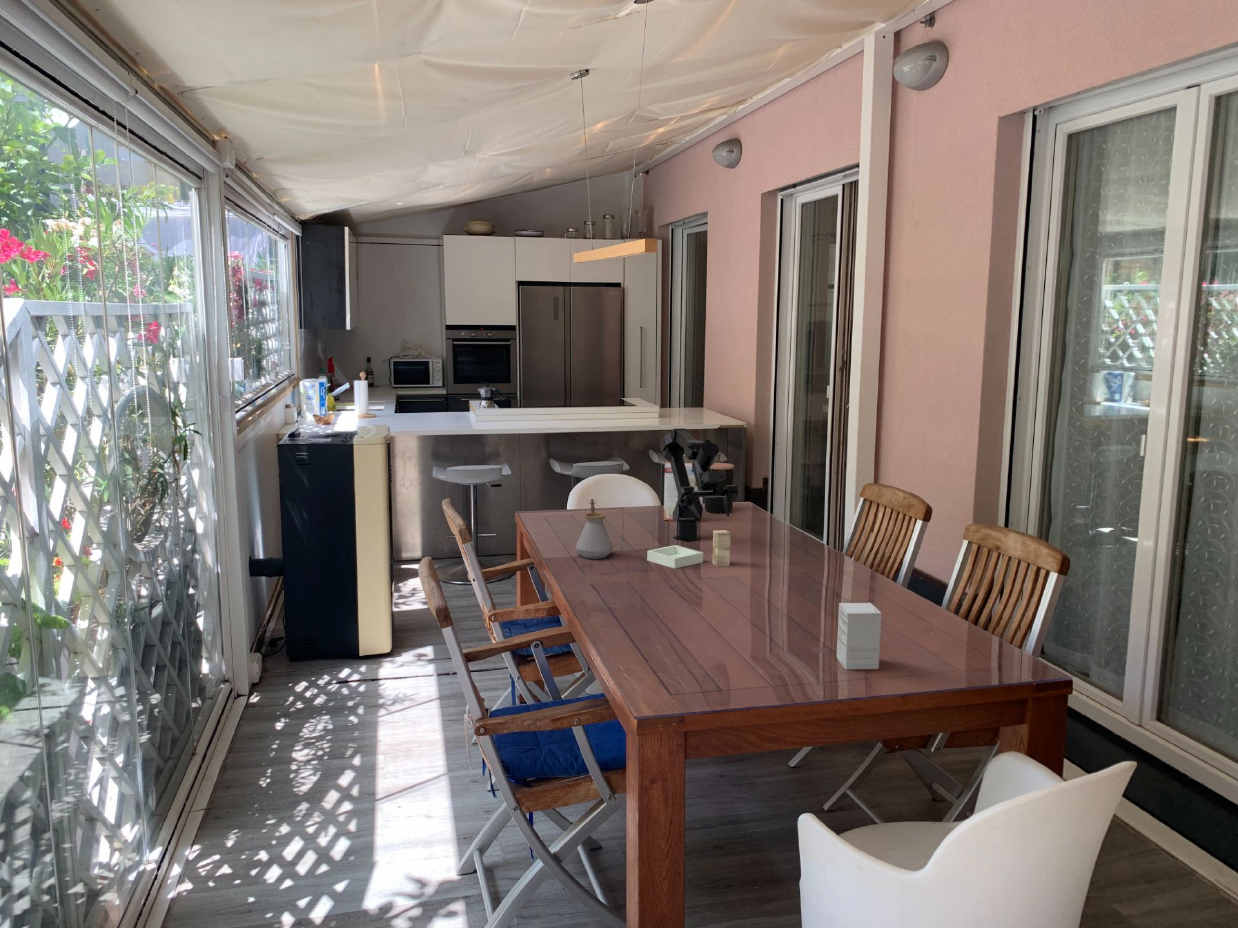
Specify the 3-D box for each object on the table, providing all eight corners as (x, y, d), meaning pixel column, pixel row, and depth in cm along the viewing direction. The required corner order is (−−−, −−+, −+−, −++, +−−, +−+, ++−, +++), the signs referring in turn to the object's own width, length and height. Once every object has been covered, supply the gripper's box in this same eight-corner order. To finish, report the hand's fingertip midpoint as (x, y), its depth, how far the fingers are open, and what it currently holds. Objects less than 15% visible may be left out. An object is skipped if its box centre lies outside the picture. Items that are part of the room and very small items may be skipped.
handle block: (712, 563, 284) (713, 530, 283) (724, 562, 285) (726, 530, 284) (716, 566, 280) (717, 533, 279) (729, 565, 281) (730, 533, 280)
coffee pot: (614, 560, 285) (614, 512, 283) (576, 560, 284) (576, 512, 282) (609, 543, 306) (609, 498, 304) (574, 543, 305) (574, 498, 303)
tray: (647, 560, 286) (647, 550, 286) (675, 554, 294) (675, 544, 293) (674, 568, 277) (674, 558, 277) (703, 562, 285) (703, 552, 284)
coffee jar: (733, 514, 355) (735, 467, 352) (705, 513, 355) (706, 466, 353) (731, 508, 366) (732, 463, 363) (703, 508, 366) (705, 462, 363)
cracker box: (702, 518, 346) (703, 462, 343) (702, 522, 341) (703, 465, 337) (664, 517, 348) (665, 461, 345) (663, 520, 342) (664, 464, 339)
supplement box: (868, 657, 206) (872, 602, 205) (879, 670, 199) (882, 612, 197) (835, 657, 206) (838, 601, 204) (844, 670, 199) (847, 612, 197)
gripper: (681, 460, 288) (691, 503, 279) (738, 459, 292) (750, 501, 283) (673, 481, 297) (682, 523, 288) (728, 480, 301) (740, 521, 292)
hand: (714, 516), depth 288 cm, fingers open, 9 cm apart
